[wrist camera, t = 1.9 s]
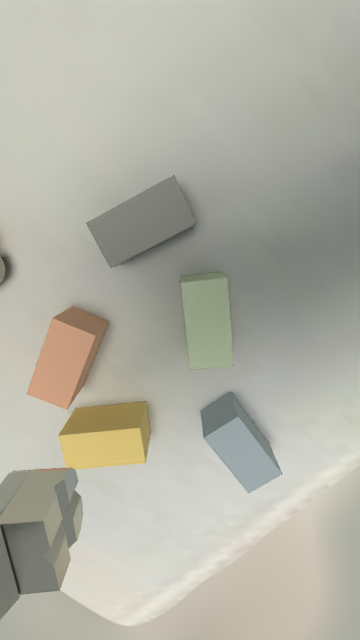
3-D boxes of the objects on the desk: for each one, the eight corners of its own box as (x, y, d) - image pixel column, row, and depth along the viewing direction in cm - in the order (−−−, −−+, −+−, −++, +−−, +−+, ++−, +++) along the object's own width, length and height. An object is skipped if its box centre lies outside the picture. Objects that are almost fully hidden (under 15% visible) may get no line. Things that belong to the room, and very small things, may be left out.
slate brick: (200, 409, 30) (203, 438, 26) (230, 390, 30) (238, 416, 26) (239, 458, 32) (248, 493, 27) (268, 441, 31) (282, 474, 27)
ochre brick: (145, 400, 30) (139, 427, 26) (150, 431, 31) (145, 463, 27) (76, 407, 30) (58, 435, 26) (82, 438, 31) (66, 470, 27)
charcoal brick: (175, 186, 25) (174, 174, 21) (194, 226, 26) (196, 223, 22) (102, 225, 26) (85, 223, 22) (122, 263, 27) (110, 267, 23)
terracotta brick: (72, 305, 28) (52, 318, 24) (109, 321, 28) (95, 335, 24) (49, 371, 30) (26, 394, 25) (83, 384, 30) (67, 409, 25)
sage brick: (180, 275, 27) (180, 282, 23) (220, 271, 27) (227, 277, 23) (188, 350, 29) (189, 369, 24) (226, 346, 29) (233, 365, 24)
